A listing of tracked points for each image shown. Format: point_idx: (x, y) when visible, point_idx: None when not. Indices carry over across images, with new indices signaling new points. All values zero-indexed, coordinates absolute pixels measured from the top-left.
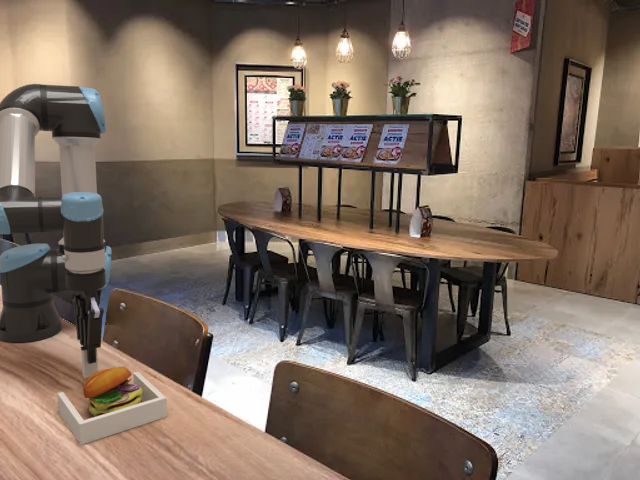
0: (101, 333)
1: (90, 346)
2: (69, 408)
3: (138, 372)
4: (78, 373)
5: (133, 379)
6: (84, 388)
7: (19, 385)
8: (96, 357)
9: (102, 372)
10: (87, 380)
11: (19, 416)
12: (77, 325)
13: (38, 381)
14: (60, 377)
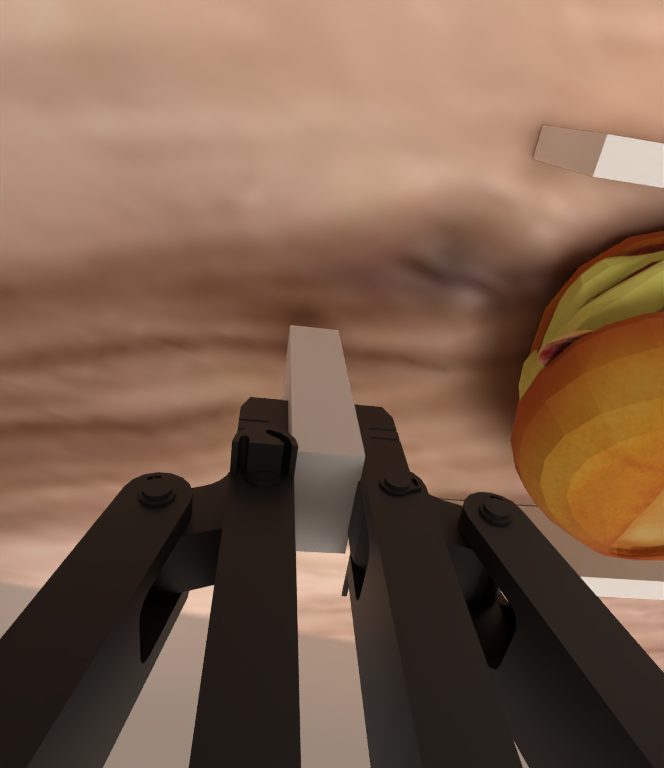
0: (644, 652)
1: (505, 604)
2: (625, 593)
3: (622, 138)
4: (66, 306)
5: (567, 168)
6: (616, 555)
7: (56, 550)
8: (349, 400)
9: (657, 493)
10: (595, 544)
11: (347, 608)
12: (117, 731)
13: (57, 486)
14: (67, 398)
